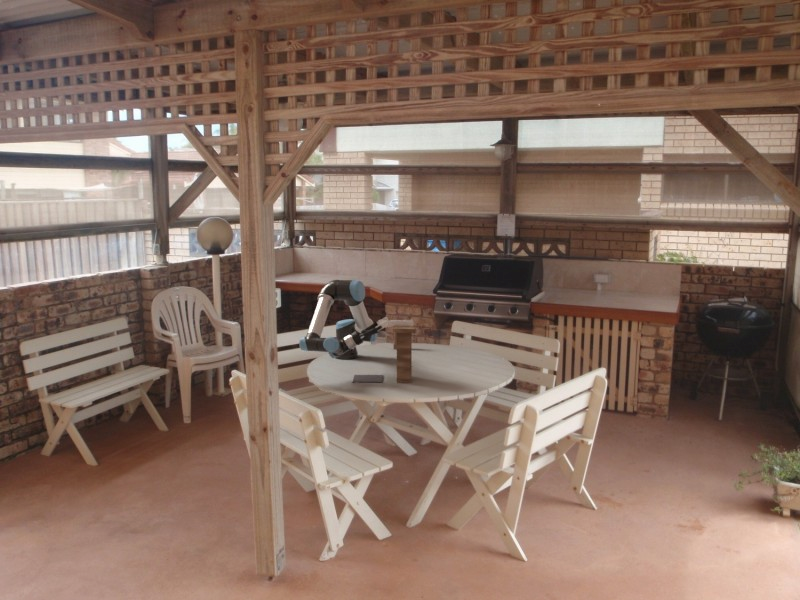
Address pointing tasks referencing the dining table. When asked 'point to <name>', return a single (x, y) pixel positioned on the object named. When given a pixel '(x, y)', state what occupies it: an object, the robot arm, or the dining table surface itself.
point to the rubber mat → (368, 378)
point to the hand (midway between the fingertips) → (387, 320)
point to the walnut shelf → (404, 352)
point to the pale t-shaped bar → (397, 323)
